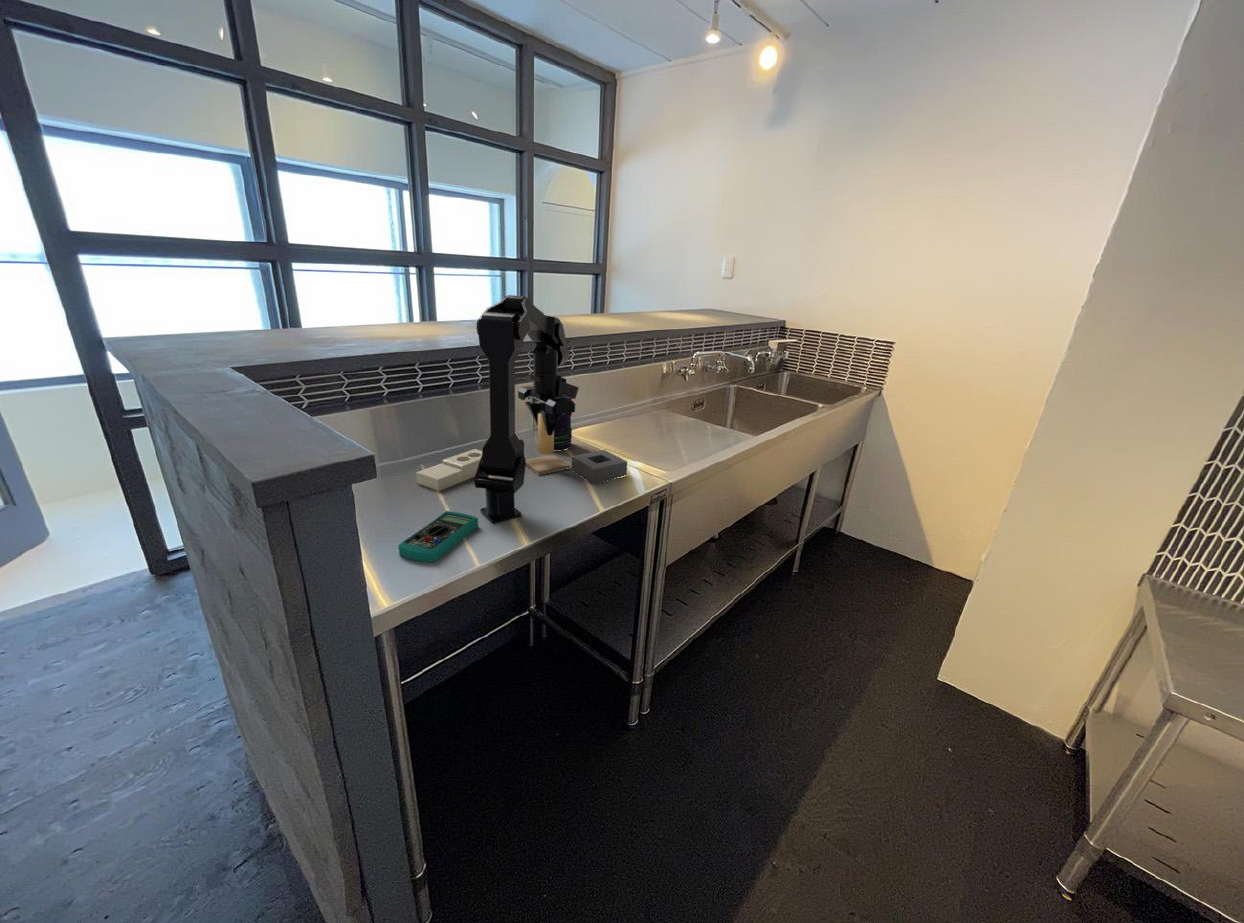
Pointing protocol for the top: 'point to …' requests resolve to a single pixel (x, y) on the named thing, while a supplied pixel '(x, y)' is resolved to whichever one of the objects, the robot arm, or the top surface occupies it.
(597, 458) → the socket block
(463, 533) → the digital multimeter
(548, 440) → the amber plug
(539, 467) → the tan square tile
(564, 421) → the storage jar
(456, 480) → the electrical outlet
